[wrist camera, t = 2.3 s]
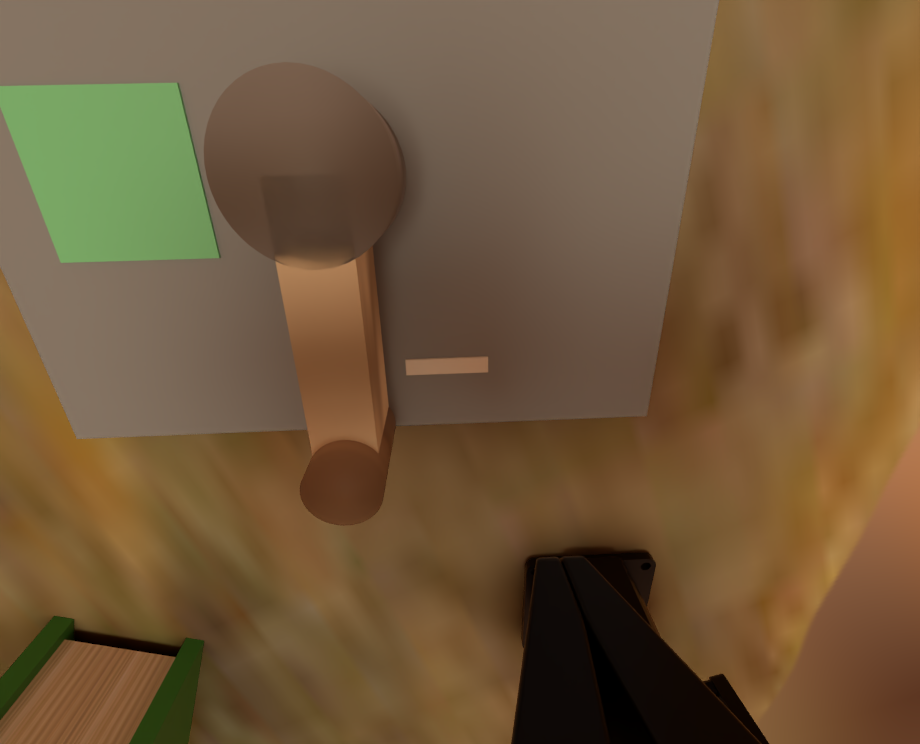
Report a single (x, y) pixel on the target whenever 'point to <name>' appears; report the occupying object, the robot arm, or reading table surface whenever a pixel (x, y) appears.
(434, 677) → the reading table surface
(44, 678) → the hardback book
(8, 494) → the reading table surface
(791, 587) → the reading table surface
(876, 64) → the reading table surface
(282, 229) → the lever
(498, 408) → the dial plate
